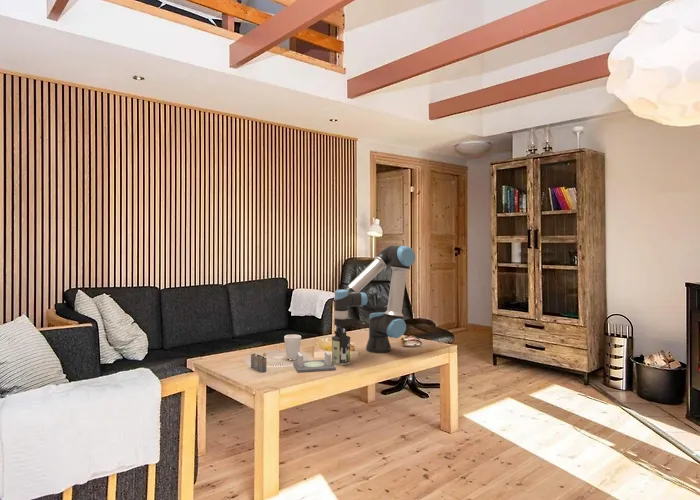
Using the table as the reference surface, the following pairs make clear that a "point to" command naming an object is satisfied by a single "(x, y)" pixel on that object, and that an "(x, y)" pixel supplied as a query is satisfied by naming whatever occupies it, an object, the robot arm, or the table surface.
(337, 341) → the coffee can
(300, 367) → the holder
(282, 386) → the table surface
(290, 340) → the foam cup
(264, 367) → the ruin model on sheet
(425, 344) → the table surface
